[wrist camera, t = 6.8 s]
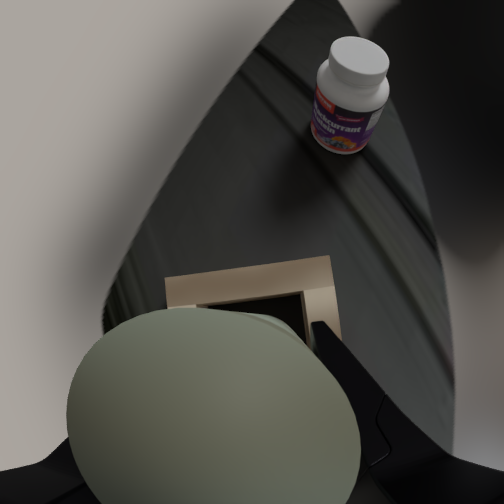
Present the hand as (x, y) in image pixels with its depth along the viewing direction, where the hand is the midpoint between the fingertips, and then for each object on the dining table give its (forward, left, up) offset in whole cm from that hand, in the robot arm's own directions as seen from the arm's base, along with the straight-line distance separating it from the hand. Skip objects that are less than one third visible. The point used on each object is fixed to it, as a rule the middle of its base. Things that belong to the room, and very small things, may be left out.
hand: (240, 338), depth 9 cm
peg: (-1, 0, -7) cm, 7 cm away
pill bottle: (+15, -9, -14) cm, 23 cm away
